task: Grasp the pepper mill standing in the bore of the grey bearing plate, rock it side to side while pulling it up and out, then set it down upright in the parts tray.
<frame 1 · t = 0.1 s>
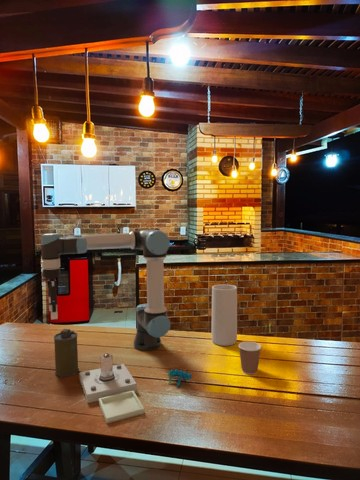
hand: (53, 314, 154), 28 cm above the table, fingers open, 13 cm apart
canister: (67, 371, 159), on the table
bearing plate: (107, 385, 146), on the table
coffee cup: (249, 371, 159), on the table
parts tray: (121, 408, 129), on the table
vase: (224, 341, 194), on the table
teal bumpy figure: (179, 383, 148), on the table
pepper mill: (107, 385, 146), resting in bearing plate
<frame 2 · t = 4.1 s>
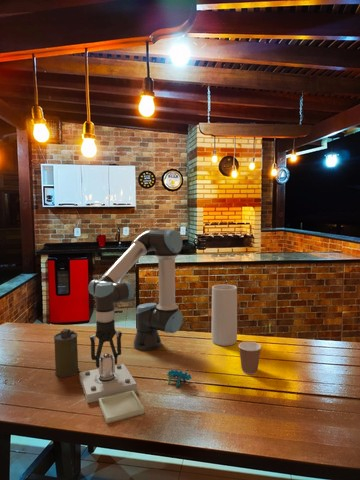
hand: (106, 372, 146), 6 cm above the table, fingers closed on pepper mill, 5 cm apart
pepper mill: (107, 385, 146), resting in bearing plate, touching gripper
everything else where it was.
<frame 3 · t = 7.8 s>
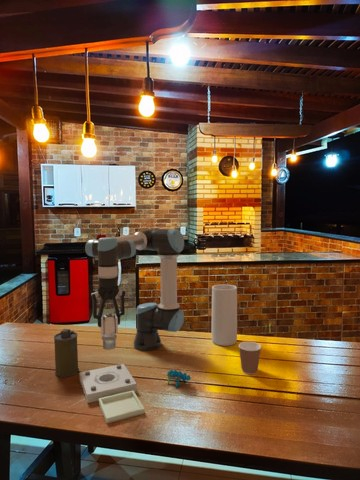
hand: (109, 333, 138), 25 cm above the table, fingers closed on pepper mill, 5 cm apart
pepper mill: (109, 347, 138), point 20 cm above the table, touching gripper
everything else where it was.
when the fingers open (8 cm above the table, at t = 11.9 s): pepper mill drops 1 cm, resting on parts tray.
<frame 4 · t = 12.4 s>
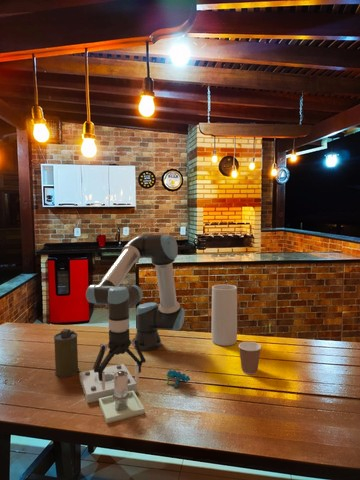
hand: (120, 384, 128), 9 cm above the table, fingers open, 12 cm apart
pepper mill: (121, 406, 129), point 1 cm above the table, touching parts tray
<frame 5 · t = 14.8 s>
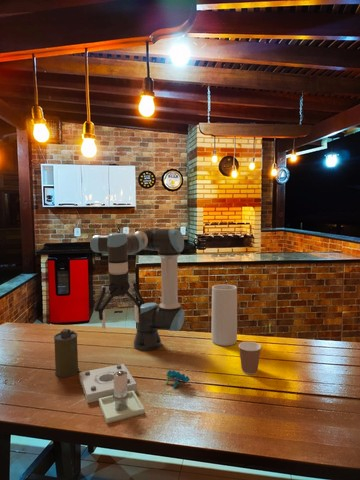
hand: (120, 324, 137), 29 cm above the table, fingers open, 13 cm apart
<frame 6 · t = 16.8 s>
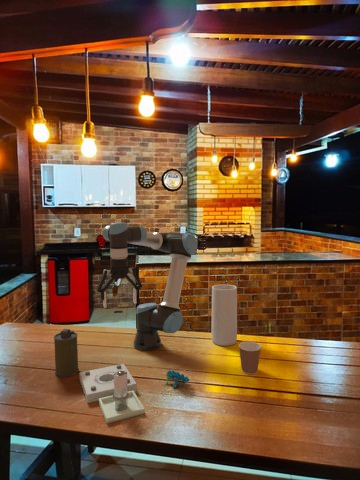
hand: (120, 305, 152), 33 cm above the table, fingers open, 13 cm apart
at the end: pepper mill inside the target area on the parts tray (0.1 cm from its centre), point 0.5 cm above the parts tray's base; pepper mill tilted 1°; the gripper is holding nothing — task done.
